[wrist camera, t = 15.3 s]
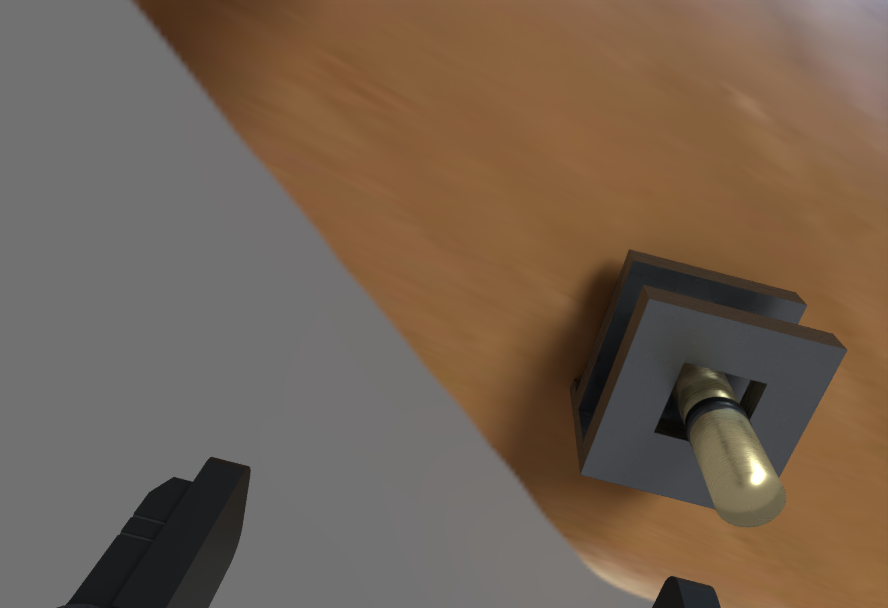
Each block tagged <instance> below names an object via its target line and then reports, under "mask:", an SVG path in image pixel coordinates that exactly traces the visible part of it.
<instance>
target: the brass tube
mask: <svg viewBox="0 0 888 608" xmlns="http://www.w3.org/2000/svg"><path fill="white" fill-rule="evenodd" d="M672 393H673V396H674V399H675V401H676V404H677V407H678V409H679V412H680V415H681V418H682V420H683V423H684V426H685V431H686V434H687V436H688V439H689V442H690V444H691V446H692V448H693V450H694V452H695V455H696V458H697V460H698V463H699V466H700V469H701V471H702V474H703V477H704V479H705V482H706V485H707V487H708V490H709V493H710V495H711V498H712V501H713V503H714V506H715V509H716V511H717V513H718V515H719V516H720V517H721V518H722V519H723V520H724V521H726V522H728V523H729V524H732V525H735V526H739V527H756V526H760V525H763V524H766V523H768V522H770V521H771V520H773V519H774V518H776V517H777V516H778V515H779V514H780V512H781V511H782V509H783V508H784V505H785V502H786V493H785V489H784V487H783V485H782V483H781V481H780V480H779V478H778V476H777V474H776V472H775V470H774V468H773V466H772V464H771V462H770V460H769V459H768V457H767V455H766V453H765V451H764V449H763V447H762V445H761V443H760V441H759V439H758V438H757V436H756V434H755V432H754V430H753V427H752V424H751V422H750V420H749V418H748V416H747V414H746V413H745V411H744V409H743V407H742V406H741V405H740V403H739V401H738V399H737V397H736V395H735V394H734V392H733V390H732V388H731V386H730V384H729V382H728V380H727V378H726V376H725V374H724V373H723V372H719V371H716V370H712V369H708V368H704V367H700V366H696V365H692V364H688V363H685V362H684V364H683V366H682V368H681V371H680V373H679V375H678V377H677V380H676V382H675V384H674V387H673V389H672Z"/></svg>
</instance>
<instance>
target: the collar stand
mask: <svg viewBox="0 0 888 608" xmlns="http://www.w3.org/2000/svg"><path fill="white" fill-rule="evenodd" d="M806 307H807V304H806V303H805V302H804V301H803V300H802V299H801V298H800V297H799V296H798V294H797V293H795V292H792V291H788V290H784V289H780V288H776V287H772V286H768V285H764V284H761V283H757V282H753V281H749V280H745V279H741V278H737V277H734V276H730V275H726V274H722V273H718V272H714V271H710V270H707V269H703V268H699V267H695V266H691V265H687V264H683V263H679V262H676V261H672V260H668V259H664V258H660V257H656V256H652V255H649V254H645V253H641V252H637V251H633V250H629V251H628V254H627V256H626V259H625V262H624V265H623V267H622V270H621V273H620V275H619V278H618V281H617V284H616V286H615V289H614V292H613V295H612V297H611V300H610V303H609V305H608V308H607V311H606V314H605V316H604V319H603V322H602V325H601V327H600V330H599V333H598V335H597V338H596V341H595V344H594V346H593V349H592V352H591V355H590V357H589V360H588V363H587V365H586V368H585V371H584V374H583V376H582V379H581V381H580V380H576V379H574V382H573V384H572V387H571V390H570V393H571V401H572V409H573V418H574V426H575V434H576V442H577V451H578V459H579V467H580V475H583V476H587V477H591V478H595V479H599V480H603V481H607V482H611V483H615V484H619V485H622V486H626V487H630V488H634V489H638V490H642V491H646V492H650V493H654V494H657V495H661V496H665V497H669V498H673V499H677V500H681V501H685V502H689V503H693V504H696V505H700V506H704V507H708V508H712V509H715V506H714V503H713V501H712V498H711V495H710V493H709V490H708V487H707V485H706V482H705V479H704V477H703V474H702V471H701V469H700V466H699V463H698V460H697V458H696V455H695V452H694V450H693V448H692V446H691V444H690V442H689V439H688V436H687V434H686V431H685V426H684V423H683V420H682V418H681V415H680V412H679V409H678V407H677V404H676V401H675V399H674V396H673V393H672V389H673V387H674V384H675V382H676V380H677V377H678V375H679V373H680V371H681V368H682V366H683V364H684V362H685V363H688V364H692V365H696V366H700V367H704V368H708V369H712V370H716V371H719V372H723V373H724V374H725V376H726V378H727V380H728V382H729V384H730V386H731V388H732V390H733V392H734V394H735V395H736V397H737V399H738V401H739V403H740V405H741V406H742V407H743V409H744V411H745V413H746V414H747V416H748V418H749V420H750V422H751V424H752V427H753V430H754V432H755V434H756V436H757V438H758V439H759V441H760V443H761V445H762V447H763V449H764V451H765V453H766V455H767V457H768V459H769V460H770V462H771V464H772V466H773V468H774V470H775V472H776V474H777V476H778V478H779V477H780V475H781V473H782V471H783V469H784V467H785V465H786V464H787V462H788V460H789V458H790V456H791V454H792V452H793V451H794V449H795V447H796V445H797V443H798V441H799V439H800V437H801V436H802V434H803V432H804V430H805V428H806V426H807V424H808V423H809V421H810V419H811V417H812V415H813V413H814V411H815V409H816V408H817V406H818V404H819V402H820V400H821V398H822V396H823V395H824V393H825V391H826V389H827V387H828V385H829V383H830V381H831V380H832V378H833V376H834V374H835V372H836V370H837V368H838V367H839V365H840V363H841V361H842V359H843V357H844V355H845V354H846V352H847V349H846V348H845V347H844V346H843V345H842V343H841V342H840V341H839V340H838V339H837V338H836V337H835V336H834V335H833V334H832V333H828V332H824V331H820V330H816V329H812V328H809V327H805V326H801V325H798V323H799V321H800V319H801V317H802V315H803V313H804V311H805V309H806Z"/></svg>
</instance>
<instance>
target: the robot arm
mask: <svg viewBox="0 0 888 608" xmlns="http://www.w3.org/2000/svg"><path fill="white" fill-rule="evenodd" d="M250 471H251V470H250V467H249V466H246V465H241V464H238V463H234V462H230V461H226V460H222V459H218V458H214V457H210V458H209V459H208V460H207V462H206V463H205V465H204V466H203V468H202V469H201V471H200V472H199V474H198V475H197V477H196V478H195V480H194V481H193V482H191V481H187V480H183V479H180V478H176V477H173V478H172V479H170V480H168V481H167V482H165V483H163V484H162V485H160V486H159V487H157V488H155V489H154V490H152V491H151V492H149V493H148V495H147V496H146V497H145V499H144V500H143V502H142V503H141V504H140V506H139V507H138V508H137V510H136V511H135V512H134V515H133V517H131V518H130V519H129V521H128V522H127V523H126V525H125V526H124V527H123V529H122V530H121V533H120V535H118V536H117V537H116V538H115V540H114V541H113V542H112V544H111V545H110V546H109V548H108V549H107V551H106V552H105V553H104V555H103V556H102V557H101V559H100V560H99V561H98V563H97V564H96V565H95V567H94V568H93V570H92V571H91V572H90V574H89V575H88V577H87V578H86V579H85V581H84V582H83V583H82V585H81V586H80V587H79V589H78V590H77V591H76V593H75V594H74V595H73V597H72V598H71V600H69V602H68V603H67V604H66V605H65V606H61V607H58V608H208V607H209V605H210V603H211V601H212V599H213V598H214V595H215V594H216V592H217V590H218V588H219V586H220V584H221V582H222V580H223V578H224V576H225V574H226V571H227V570H228V568H229V566H230V564H231V562H232V559H233V557H234V554H235V551H236V549H237V546H238V543H239V539H240V536H241V531H242V526H243V519H244V512H245V505H246V500H247V493H248V487H249V480H250ZM652 608H721V607H720V604H719V601H718V598H717V595H716V592H715V590H714V588H713V587H711V586H709V585H705V584H701V583H697V582H693V581H690V580H686V579H682V578H678V577H674V576H670V577H669V578H667V580H666V581H665V583H664V585H663V587H662V589H661V591H660V593H659V595H658V597H657V599H656V601H655V603H654V605H653V607H652Z"/></svg>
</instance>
